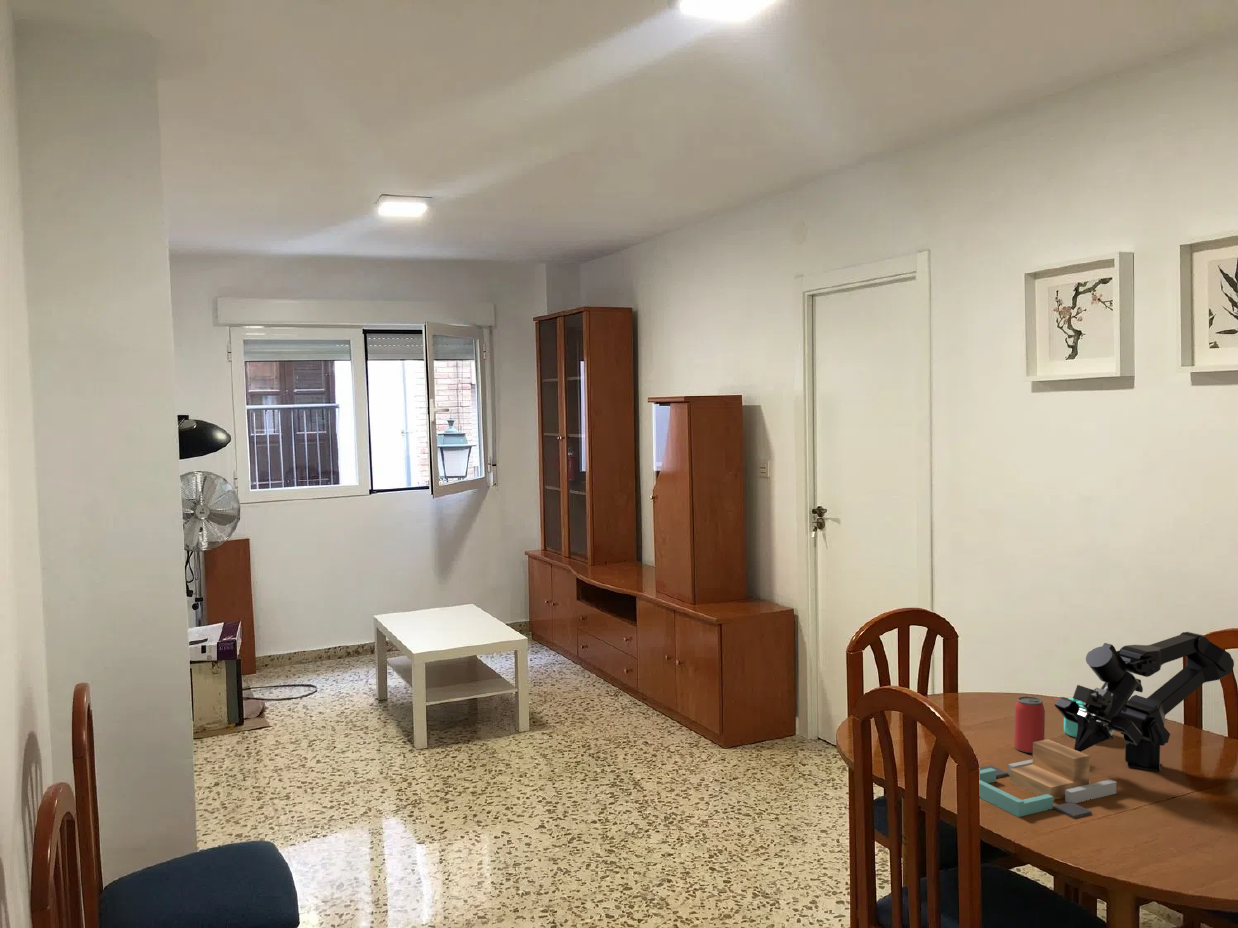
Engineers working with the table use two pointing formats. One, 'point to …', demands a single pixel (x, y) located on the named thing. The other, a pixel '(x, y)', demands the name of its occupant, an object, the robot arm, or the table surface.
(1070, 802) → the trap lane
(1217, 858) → the table surface
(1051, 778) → the step block
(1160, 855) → the table surface
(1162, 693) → the robot arm
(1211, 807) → the table surface
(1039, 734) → the beer can
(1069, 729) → the decorative dice
